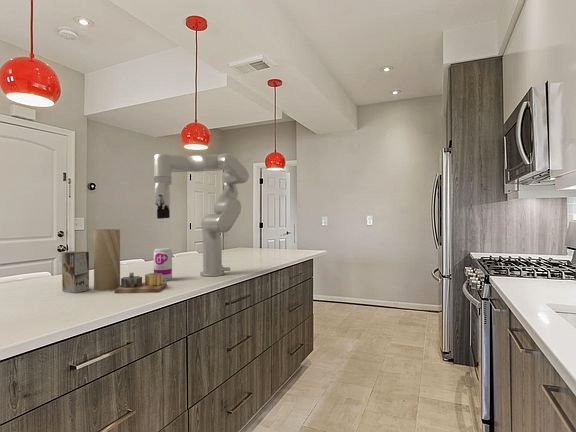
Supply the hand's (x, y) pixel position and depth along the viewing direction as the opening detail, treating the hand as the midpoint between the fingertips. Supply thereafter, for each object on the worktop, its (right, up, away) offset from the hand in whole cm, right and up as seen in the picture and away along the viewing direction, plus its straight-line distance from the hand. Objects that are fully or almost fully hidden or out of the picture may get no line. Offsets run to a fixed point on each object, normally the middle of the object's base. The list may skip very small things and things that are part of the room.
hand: (163, 218), depth 165 cm
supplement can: (-3, -30, +7) cm, 31 cm away
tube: (-20, -30, -12) cm, 38 cm away
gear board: (-4, -30, -14) cm, 33 cm away
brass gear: (0, -28, -13) cm, 31 cm away
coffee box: (-31, -30, -17) cm, 46 cm away
